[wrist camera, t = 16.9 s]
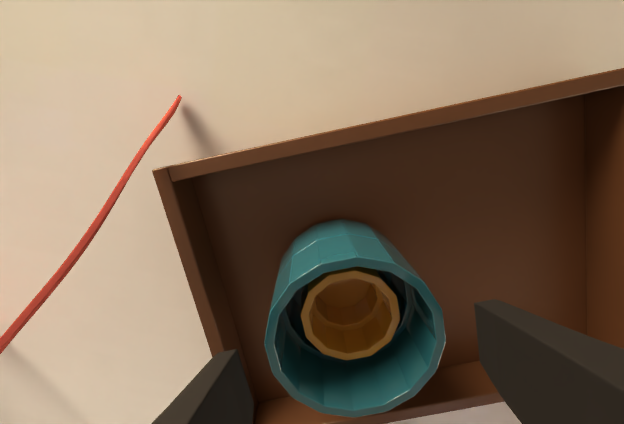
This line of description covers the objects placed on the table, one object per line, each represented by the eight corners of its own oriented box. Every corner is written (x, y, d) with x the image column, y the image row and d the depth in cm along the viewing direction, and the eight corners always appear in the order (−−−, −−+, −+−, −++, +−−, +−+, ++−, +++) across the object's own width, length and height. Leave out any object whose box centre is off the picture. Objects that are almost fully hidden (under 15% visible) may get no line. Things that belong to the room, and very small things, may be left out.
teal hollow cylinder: (406, 316, 15) (454, 399, 10) (294, 338, 15) (287, 430, 10) (389, 205, 14) (433, 240, 9) (267, 231, 14) (245, 279, 9)
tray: (587, 76, 13) (651, 61, 11) (589, 341, 16) (640, 377, 14) (178, 164, 14) (151, 169, 11) (251, 405, 17) (242, 450, 14)
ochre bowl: (384, 305, 14) (405, 349, 11) (311, 319, 15) (312, 367, 11) (372, 235, 14) (391, 262, 11) (295, 250, 14) (292, 282, 11)
